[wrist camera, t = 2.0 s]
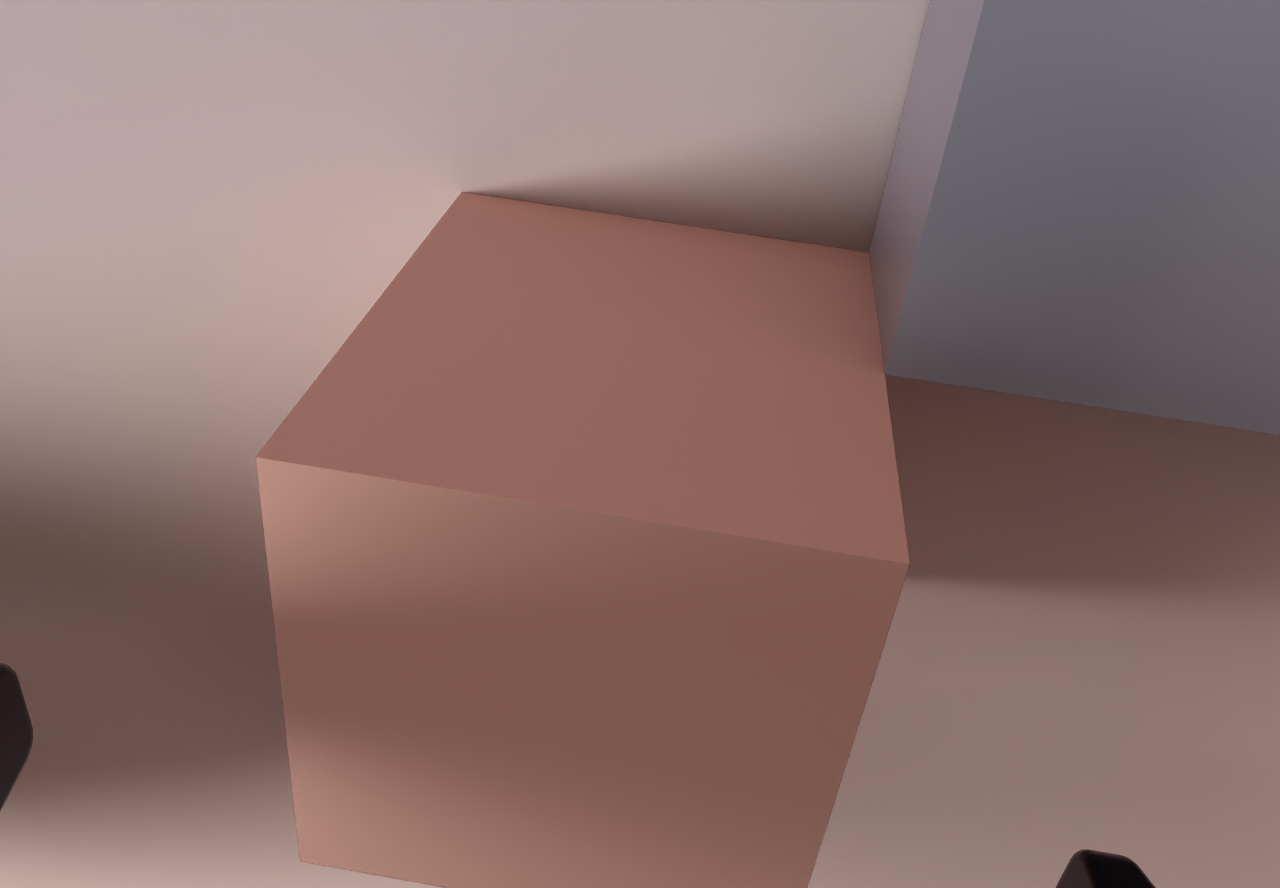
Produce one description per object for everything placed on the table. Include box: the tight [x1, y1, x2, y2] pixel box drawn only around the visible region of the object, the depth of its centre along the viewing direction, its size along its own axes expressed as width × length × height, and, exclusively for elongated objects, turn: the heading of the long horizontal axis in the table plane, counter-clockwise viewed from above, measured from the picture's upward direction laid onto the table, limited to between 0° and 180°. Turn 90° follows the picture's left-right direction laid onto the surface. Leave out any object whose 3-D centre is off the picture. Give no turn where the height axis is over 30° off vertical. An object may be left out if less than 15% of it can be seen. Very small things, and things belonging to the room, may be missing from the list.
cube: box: [256, 192, 910, 888], centre depth 12 cm, size 5×5×6 cm
